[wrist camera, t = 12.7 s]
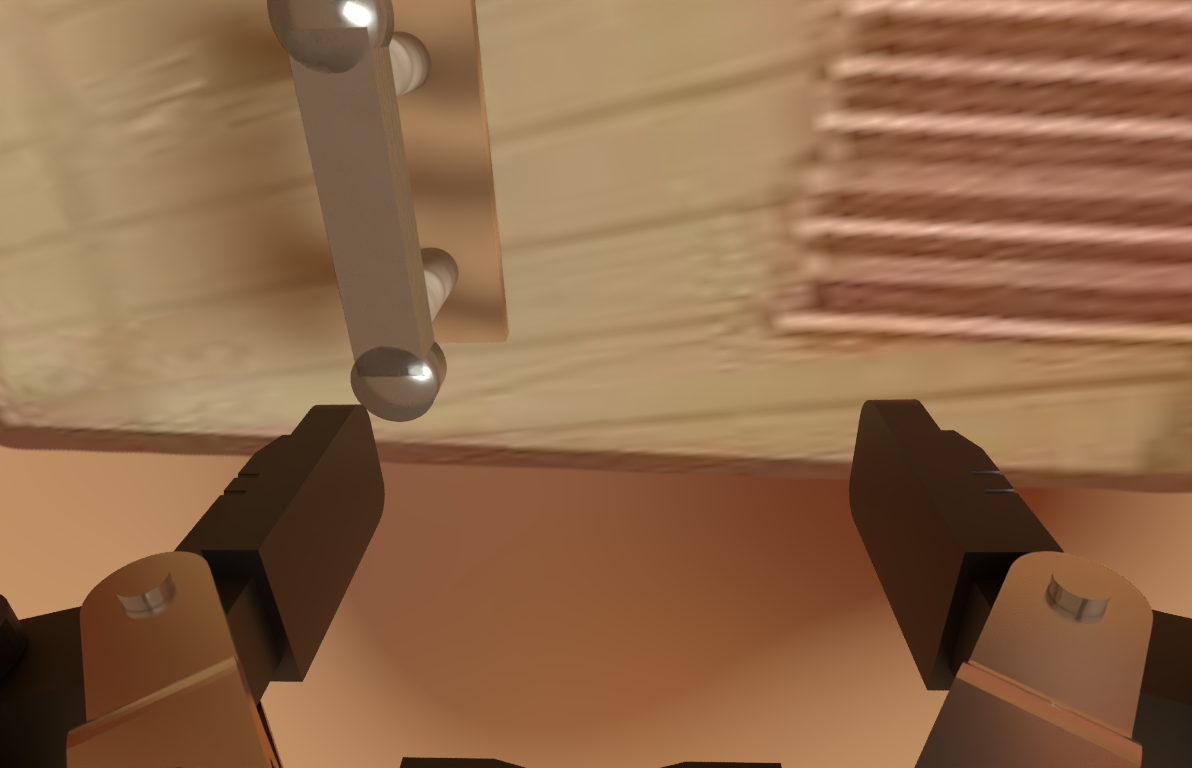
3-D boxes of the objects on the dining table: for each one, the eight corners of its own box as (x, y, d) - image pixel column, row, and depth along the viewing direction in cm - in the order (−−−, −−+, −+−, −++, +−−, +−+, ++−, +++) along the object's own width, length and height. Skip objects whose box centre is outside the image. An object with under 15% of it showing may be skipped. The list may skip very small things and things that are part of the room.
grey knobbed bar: (282, -43, 30) (254, -47, 28) (385, -48, 30) (365, -52, 28) (374, 398, 40) (359, 422, 38) (451, 398, 40) (441, 421, 38)
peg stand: (323, -40, 38) (237, -51, 30) (470, -46, 38) (425, -60, 30) (392, 334, 49) (343, 403, 40) (508, 332, 48) (483, 401, 40)
